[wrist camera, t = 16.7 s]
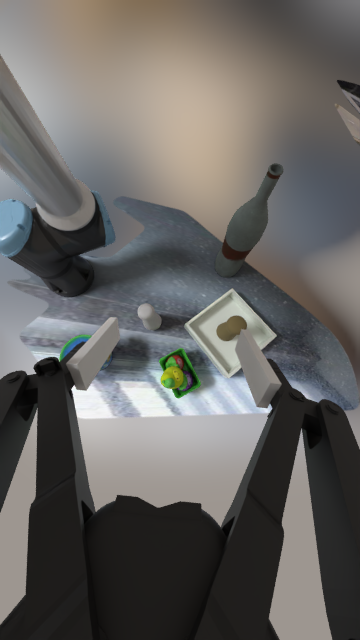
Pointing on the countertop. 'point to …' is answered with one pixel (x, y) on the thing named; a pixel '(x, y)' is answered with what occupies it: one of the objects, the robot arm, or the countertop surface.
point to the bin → (219, 313)
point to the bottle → (246, 227)
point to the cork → (231, 328)
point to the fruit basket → (178, 373)
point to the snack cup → (77, 340)
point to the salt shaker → (149, 317)
